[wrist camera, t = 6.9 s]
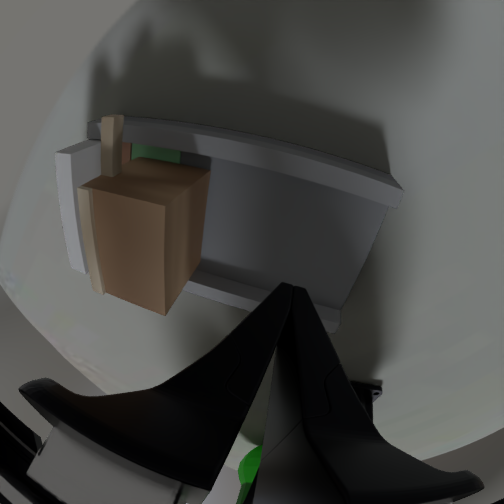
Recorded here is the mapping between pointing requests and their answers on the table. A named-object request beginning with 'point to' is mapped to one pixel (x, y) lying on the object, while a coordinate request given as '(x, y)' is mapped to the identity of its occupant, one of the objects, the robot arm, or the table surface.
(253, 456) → the plastic bottle
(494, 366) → the table surface
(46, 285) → the table surface
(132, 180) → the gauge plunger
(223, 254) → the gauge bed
